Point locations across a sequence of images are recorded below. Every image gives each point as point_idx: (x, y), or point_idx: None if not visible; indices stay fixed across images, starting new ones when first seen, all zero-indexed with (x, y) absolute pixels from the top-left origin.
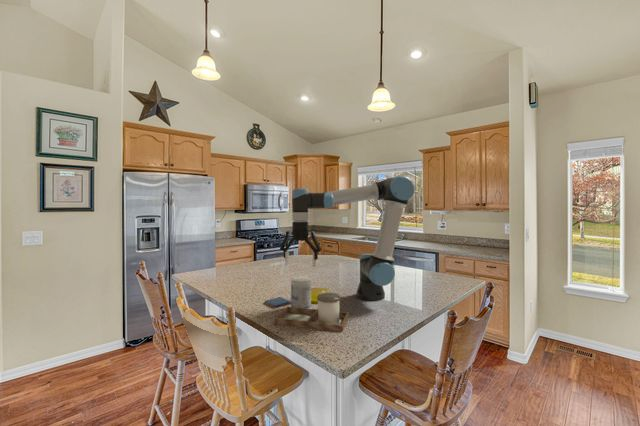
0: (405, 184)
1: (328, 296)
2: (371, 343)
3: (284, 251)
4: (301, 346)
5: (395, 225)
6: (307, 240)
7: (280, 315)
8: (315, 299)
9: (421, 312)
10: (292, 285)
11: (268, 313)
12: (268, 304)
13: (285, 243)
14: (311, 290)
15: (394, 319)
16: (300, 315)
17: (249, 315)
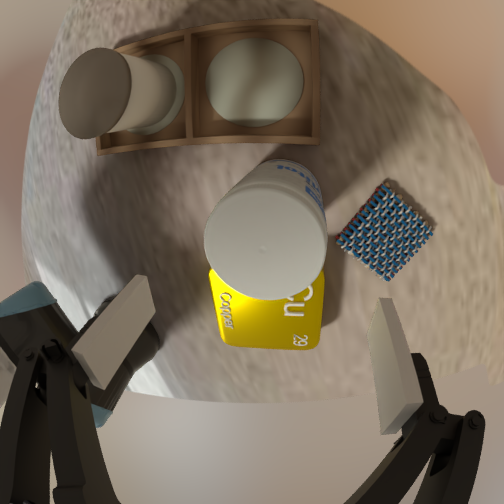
0: None
1: (87, 89)
2: (58, 54)
3: (433, 405)
4: None
5: None
6: (55, 488)
7: (311, 51)
8: None
9: (30, 244)
10: (310, 196)
11: (388, 128)
12: (414, 213)
13: (428, 499)
14: (274, 325)
15: (44, 192)
16: (253, 113)
17: (440, 105)
